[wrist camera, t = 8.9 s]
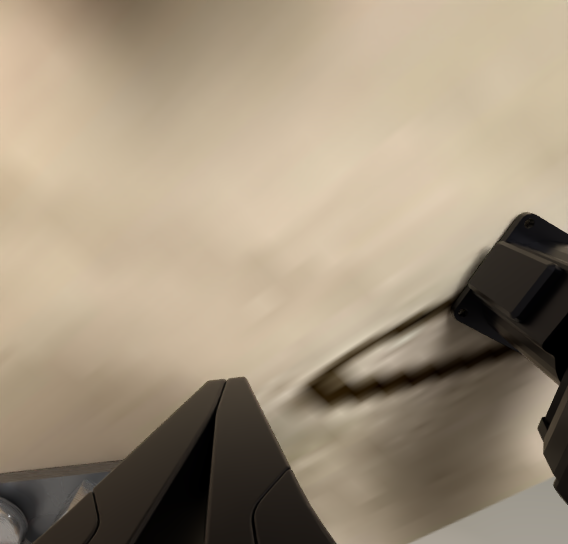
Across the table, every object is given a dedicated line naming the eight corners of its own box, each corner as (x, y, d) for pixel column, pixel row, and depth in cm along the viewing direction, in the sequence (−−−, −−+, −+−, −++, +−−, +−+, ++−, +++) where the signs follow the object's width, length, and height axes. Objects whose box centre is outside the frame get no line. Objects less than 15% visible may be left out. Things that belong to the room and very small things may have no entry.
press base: (171, 564, 27) (158, 617, 24) (-59, 588, 27) (-101, 643, 24) (133, 435, 23) (111, 478, 20) (-133, 464, 24) (-193, 511, 21)
